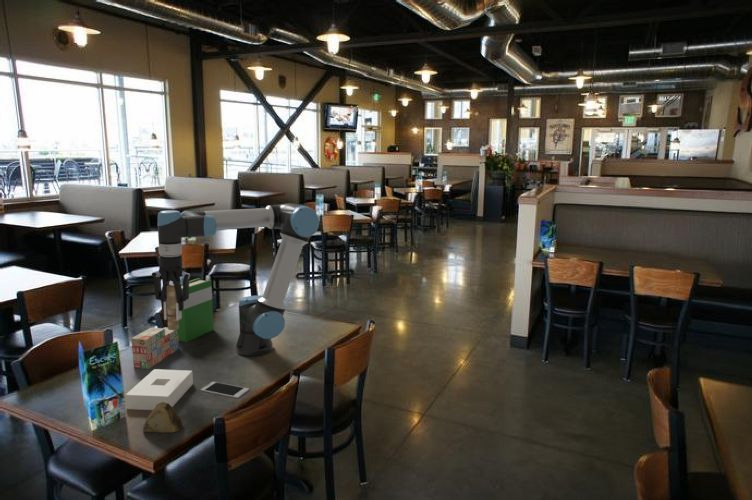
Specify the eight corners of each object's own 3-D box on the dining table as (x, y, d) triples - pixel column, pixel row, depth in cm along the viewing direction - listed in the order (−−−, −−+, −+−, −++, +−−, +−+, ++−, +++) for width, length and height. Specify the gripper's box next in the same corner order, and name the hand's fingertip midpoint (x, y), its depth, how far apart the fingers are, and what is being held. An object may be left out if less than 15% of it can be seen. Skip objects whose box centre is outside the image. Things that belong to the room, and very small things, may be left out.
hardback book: (201, 327, 247) (198, 278, 243) (213, 330, 244) (211, 280, 240) (172, 339, 231) (169, 286, 227) (185, 342, 229) (183, 289, 224)
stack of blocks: (165, 347, 222) (164, 320, 220) (179, 349, 221) (177, 321, 219) (133, 368, 202) (131, 337, 199) (147, 369, 200) (145, 339, 198)
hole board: (193, 383, 189) (192, 370, 188) (168, 410, 169) (168, 396, 168) (154, 382, 190) (154, 369, 189) (126, 409, 170) (125, 394, 169)
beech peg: (180, 327, 191) (179, 284, 188) (176, 330, 187) (174, 286, 184) (170, 326, 191) (169, 283, 188) (165, 329, 187) (164, 286, 184)
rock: (131, 428, 154) (156, 432, 150) (142, 399, 158) (166, 402, 154) (158, 435, 163) (182, 439, 159) (168, 407, 167) (191, 410, 162)
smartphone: (237, 399, 179) (237, 396, 179) (200, 391, 184) (200, 389, 184) (249, 390, 185) (249, 388, 185) (213, 383, 191) (212, 381, 190)
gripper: (141, 255, 181) (145, 320, 185) (189, 258, 180) (191, 323, 184) (152, 251, 188) (155, 314, 192) (198, 254, 187) (200, 317, 191)
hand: (173, 318), depth 188 cm, fingers closed on beech peg, 4 cm apart
